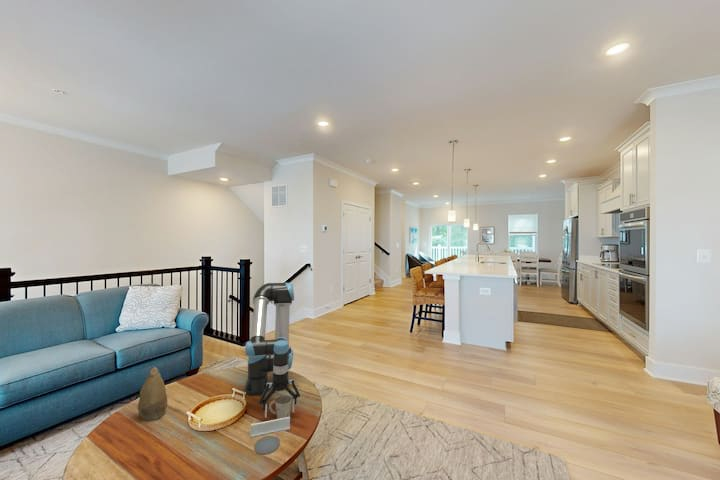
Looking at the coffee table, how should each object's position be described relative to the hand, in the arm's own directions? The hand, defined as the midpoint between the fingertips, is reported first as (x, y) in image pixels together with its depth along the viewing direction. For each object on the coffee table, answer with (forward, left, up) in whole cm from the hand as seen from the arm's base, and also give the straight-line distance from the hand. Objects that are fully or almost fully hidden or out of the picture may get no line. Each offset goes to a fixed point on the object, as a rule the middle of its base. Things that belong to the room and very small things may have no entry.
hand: (279, 413), depth 146 cm
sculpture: (-23, -61, -3) cm, 65 cm away
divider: (+9, -5, -3) cm, 10 cm away
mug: (0, 0, -3) cm, 3 cm away
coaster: (+18, -7, -3) cm, 19 cm away
